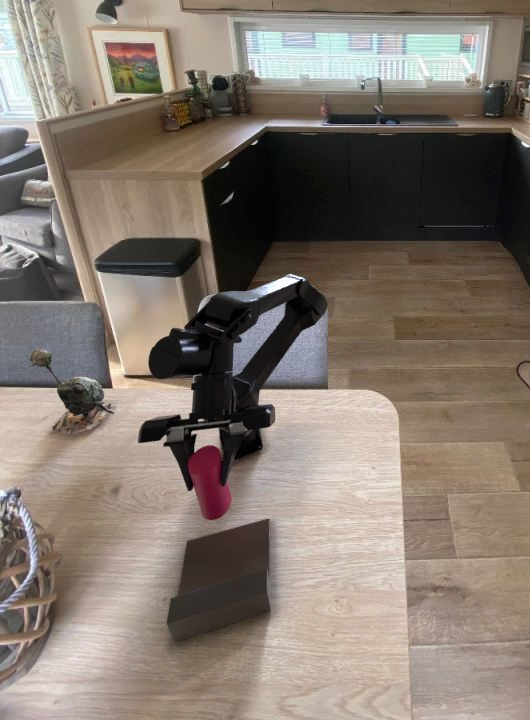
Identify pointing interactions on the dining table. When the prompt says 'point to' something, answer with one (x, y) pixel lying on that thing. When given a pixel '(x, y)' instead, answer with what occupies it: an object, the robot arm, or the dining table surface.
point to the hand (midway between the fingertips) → (207, 488)
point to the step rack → (222, 580)
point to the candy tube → (209, 482)
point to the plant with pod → (76, 399)
